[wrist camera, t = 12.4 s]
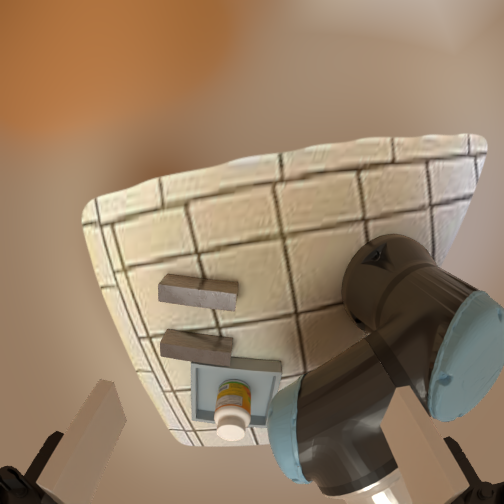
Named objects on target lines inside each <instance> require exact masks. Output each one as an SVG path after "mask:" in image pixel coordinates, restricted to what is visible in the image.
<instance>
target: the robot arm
mask: <svg viewBox="0 0 504 504" xmlns="http://www.w3.org/2000/svg"><path fill="white" fill-rule="evenodd" d="M342 299H343V304H344V307H345V309H346V311H347V313H348V315H349V316H350V318H351V319H352V321H353V322H354V323H355V324H356V325H357V326H358V327H359V328H360V329H361V330H363V331H365V332H367V333H369V335H368V336H367V337H365V338H363V339H362V340H360V341H359V342H357V343H356V344H354V345H353V346H351V347H350V348H348V349H347V350H345V351H344V352H342V353H341V354H339V355H338V356H336V357H335V358H333V359H331V360H330V361H328V362H326V363H325V364H323V365H322V366H320V367H318V368H317V369H315V370H313V371H312V372H310V373H306V374H303V375H302V376H300V377H299V379H298V380H297V381H295V382H293V383H292V384H290V385H289V386H287V387H285V388H284V389H282V390H280V391H279V392H278V393H277V394H276V395H275V396H274V397H273V399H272V401H271V403H270V405H269V409H268V421H267V429H268V436H269V441H270V445H271V449H272V451H273V454H274V456H275V459H276V461H277V463H278V465H279V467H280V468H281V470H282V471H283V473H284V474H285V475H286V476H287V477H288V478H290V479H292V481H293V482H295V483H298V484H304V483H305V484H309V483H311V482H312V481H315V482H316V484H317V485H318V487H319V488H320V490H321V491H322V493H323V495H324V496H326V497H328V498H336V499H344V501H345V502H346V504H504V482H501V483H497V484H493V485H492V484H491V483H489V482H482V481H481V480H480V479H479V478H478V476H477V474H476V472H475V471H474V469H473V467H472V466H471V464H470V462H469V461H468V459H467V458H466V456H465V454H464V452H462V449H461V448H460V446H459V444H458V443H457V442H456V441H455V440H454V439H452V438H451V437H446V438H444V439H443V438H442V436H441V435H440V433H439V431H438V430H437V428H436V426H435V425H434V423H433V422H432V420H431V418H430V417H431V416H432V417H433V418H435V419H437V420H439V421H442V422H449V421H453V420H455V419H456V418H457V417H462V416H463V415H465V414H466V413H468V412H469V411H470V410H471V409H472V408H474V407H475V406H476V405H477V404H478V403H479V402H480V401H481V400H482V399H483V398H484V396H485V395H486V394H487V393H488V391H489V390H490V389H491V387H492V386H493V384H494V383H495V381H496V380H497V378H498V376H499V374H500V372H501V370H502V368H503V366H504V308H503V307H502V306H500V305H499V304H498V303H497V302H496V301H494V300H493V299H492V298H490V296H489V295H488V294H487V293H485V292H484V291H480V290H478V289H476V288H475V287H473V286H471V285H469V284H468V283H466V282H464V281H462V280H461V279H459V278H457V277H455V276H454V275H452V274H450V273H448V272H446V271H445V270H443V269H441V268H439V267H438V266H437V264H436V263H435V261H434V260H433V259H432V257H431V256H430V254H429V253H428V251H427V250H426V249H425V248H424V247H423V246H422V245H421V244H420V243H418V242H417V241H415V240H413V239H411V238H408V237H406V236H403V235H398V234H390V235H384V236H381V237H378V238H376V239H374V240H372V241H370V242H369V243H367V244H366V245H365V246H363V247H362V248H361V249H360V250H359V251H358V252H357V254H356V255H355V256H354V257H353V259H352V260H351V262H350V264H349V266H348V268H347V270H346V272H345V275H344V279H343V284H342ZM366 340H367V341H366ZM368 343H369V344H368ZM370 346H371V347H370ZM375 354H376V355H375ZM380 362H381V363H380ZM385 370H386V371H385ZM126 421H127V420H126V417H125V414H124V412H123V409H122V406H121V403H120V400H119V397H118V394H117V391H116V388H115V384H114V382H111V381H107V380H102V379H100V380H99V381H98V383H97V384H96V386H95V387H94V389H93V390H92V392H91V393H90V395H89V396H88V398H87V399H86V401H85V402H84V404H83V406H82V407H81V409H80V410H79V412H78V413H77V415H76V416H75V418H74V419H73V421H72V423H71V424H70V426H69V427H68V429H67V431H66V432H65V434H63V433H61V432H59V431H56V432H54V433H53V434H52V435H50V436H49V437H48V438H47V440H46V441H45V443H44V445H43V447H42V448H41V449H40V451H39V453H38V454H37V456H36V457H35V459H34V460H33V462H32V464H31V465H30V467H29V469H28V470H27V472H26V474H25V475H24V476H23V475H21V473H20V472H19V471H18V470H17V469H16V468H14V467H12V466H4V467H2V468H1V469H0V504H91V501H92V498H93V496H94V494H95V491H96V489H97V487H98V484H99V482H100V479H101V477H102V474H103V472H104V470H105V468H106V465H107V463H108V461H109V458H110V456H111V454H112V451H113V449H114V447H115V445H116V443H117V440H118V438H119V436H120V434H121V431H122V429H123V427H124V425H125V423H126Z"/></svg>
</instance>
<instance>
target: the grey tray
mask: <svg viewBox="0 0 504 504" xmlns="http://www.w3.org/2000/svg"><path fill="white" fill-rule="evenodd" d="M281 375H282V369H281V362H280V361H272V360H259V359H247V358H237V357H231V360H230V366H221V365H213V364H206V363H199V362H191V406H192V420H193V421H200V422H207V423H214V424H216V423H215V420H214V414H215V407H216V401H217V395H218V389H219V387H220V385H221V384H222V383H223V382H225V381H228V380H239V381H242V382H244V383H246V384H247V385H248V386H249V387H250V390H251V419H250V423H249V425H248V426H247V427H258V428H267V421H268V409H269V405H270V403H271V401H272V399H273V397H274V396H275V395H276V394H277V392H278V388H279V384H280V379H281Z"/></svg>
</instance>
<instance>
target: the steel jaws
mask: <svg viewBox="0 0 504 504" xmlns="http://www.w3.org/2000/svg"><path fill="white" fill-rule="evenodd" d="M237 291H238V282H229V281H220V280H211V279H203V278H195V277H186V276H179V275H171V274H167V275H166V276H165V277H164V278H163V279H162V281H161V282H160V283H159V284H158V299H159V301H160V302H166V303H173V304H180V305H187V306H195V307H202V308H210V309H219V310H227V311H235V308H236V300H237ZM232 341H233V338H229V337H220V336H212V335H204V334H197V333H190V332H183V331H177V330H170V329H167V331H166V332H165V334H164V336H163V338H162V340H161V342H160V352H161V356H162V357H167V358H173V359H179V360H185V361H192V362H199V363H206V364H213V365H221V366H230V360H231V351H232Z"/></svg>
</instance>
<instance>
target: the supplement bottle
mask: <svg viewBox="0 0 504 504" xmlns="http://www.w3.org/2000/svg"><path fill="white" fill-rule="evenodd" d="M250 419H251V390H250V387H249V386H248V385H247V384H246V383H244V382H242V381H239V380H228V381H225V382H223V383H222V384H221V385H220V387H219V389H218V395H217V401H216V407H215V414H214V420H215V423H216V424H217V434H218V436H219V437H220V438H222V439H224V440H228V441H237V440H240V439H242V438H243V437H244V436H245V428H246V427H247V426H248V425H249V423H250Z"/></svg>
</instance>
